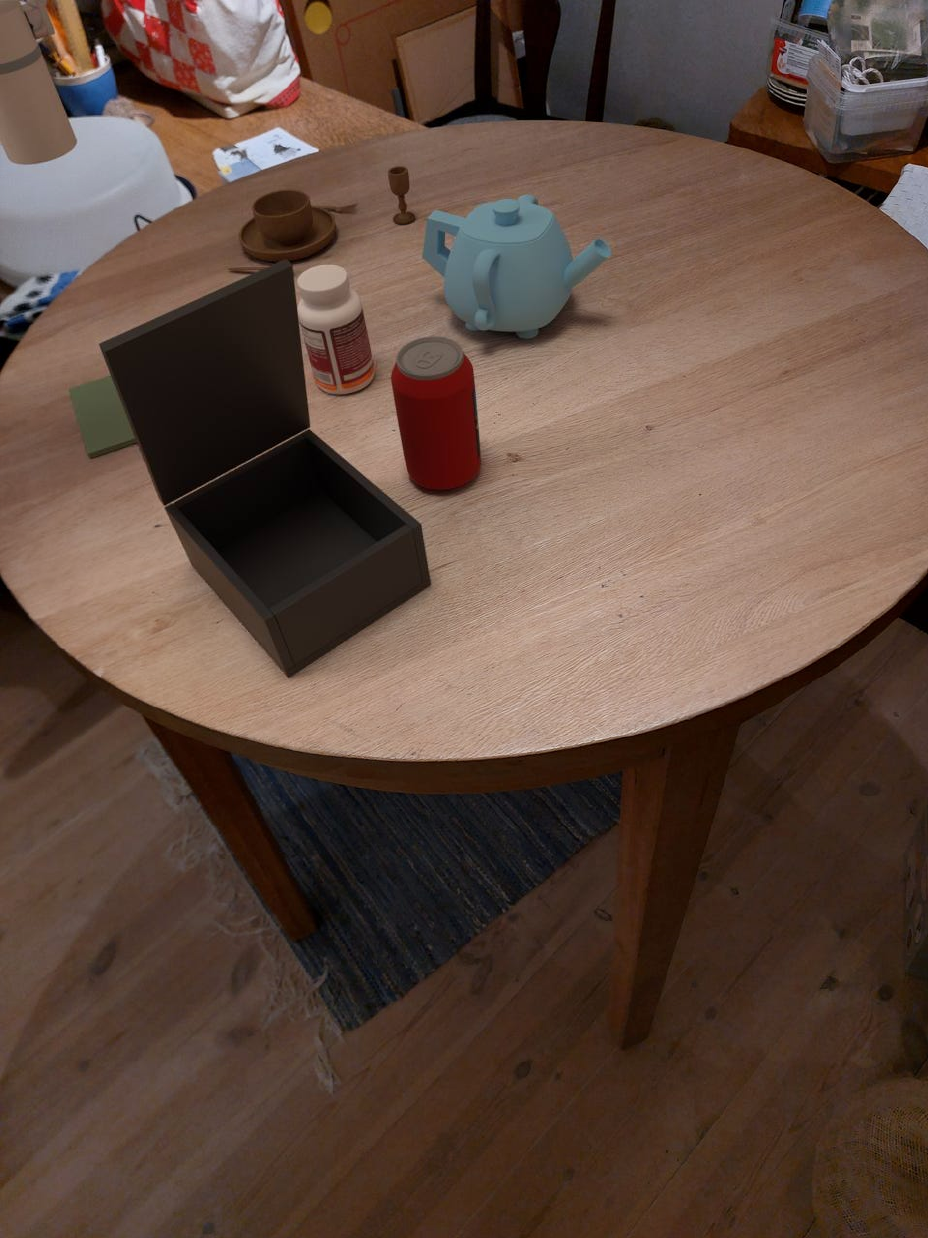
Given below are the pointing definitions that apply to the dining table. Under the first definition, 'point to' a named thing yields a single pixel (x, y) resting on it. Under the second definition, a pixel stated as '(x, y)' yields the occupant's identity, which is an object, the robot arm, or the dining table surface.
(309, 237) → the place setting
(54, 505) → the dining table surface
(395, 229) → the dining table surface
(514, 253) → the teapot
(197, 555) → the black keepsake box
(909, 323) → the dining table surface
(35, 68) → the container
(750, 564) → the dining table surface
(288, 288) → the dark hinged box lid
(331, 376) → the pill bottle
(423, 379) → the beverage can
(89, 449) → the mat
